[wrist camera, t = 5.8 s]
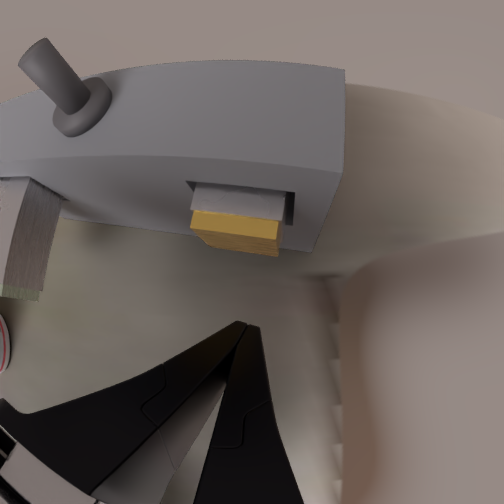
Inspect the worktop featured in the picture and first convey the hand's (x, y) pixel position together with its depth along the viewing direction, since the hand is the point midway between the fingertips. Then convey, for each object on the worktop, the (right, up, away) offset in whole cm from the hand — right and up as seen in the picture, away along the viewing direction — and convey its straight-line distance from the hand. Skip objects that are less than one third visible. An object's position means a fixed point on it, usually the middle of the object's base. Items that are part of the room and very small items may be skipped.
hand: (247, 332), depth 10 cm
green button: (-12, +4, +4) cm, 13 cm away
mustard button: (0, +6, +3) cm, 7 cm away
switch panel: (-5, +6, +9) cm, 12 cm away
